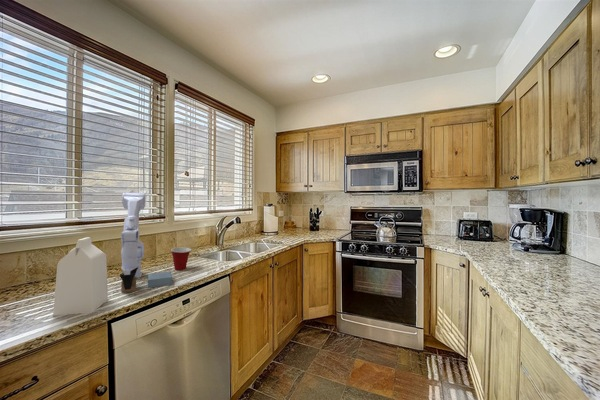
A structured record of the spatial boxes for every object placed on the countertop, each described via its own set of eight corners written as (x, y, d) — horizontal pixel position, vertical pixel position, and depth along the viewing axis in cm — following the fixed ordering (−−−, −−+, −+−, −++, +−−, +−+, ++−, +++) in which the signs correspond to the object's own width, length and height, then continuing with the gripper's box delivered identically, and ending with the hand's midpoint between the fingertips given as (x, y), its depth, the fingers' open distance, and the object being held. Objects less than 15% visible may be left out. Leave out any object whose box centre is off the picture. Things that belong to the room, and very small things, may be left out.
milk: (92, 312, 89) (94, 241, 89) (53, 315, 86) (54, 241, 86) (107, 299, 100) (109, 235, 100) (73, 301, 97) (75, 236, 97)
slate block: (148, 281, 123) (148, 273, 123) (170, 279, 128) (171, 271, 128) (147, 288, 114) (147, 279, 114) (171, 285, 119) (172, 277, 119)
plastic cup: (182, 272, 137) (182, 251, 137) (165, 270, 140) (166, 250, 140) (194, 267, 148) (195, 247, 148) (179, 265, 150) (179, 246, 150)
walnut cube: (123, 289, 112) (123, 278, 112) (136, 287, 114) (136, 276, 114) (121, 293, 107) (121, 281, 107) (134, 291, 110) (135, 280, 110)
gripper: (138, 259, 106) (137, 290, 106) (141, 252, 119) (141, 280, 119) (118, 260, 103) (117, 293, 103) (124, 253, 116) (123, 282, 116)
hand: (129, 286), depth 111 cm, fingers open, 7 cm apart
